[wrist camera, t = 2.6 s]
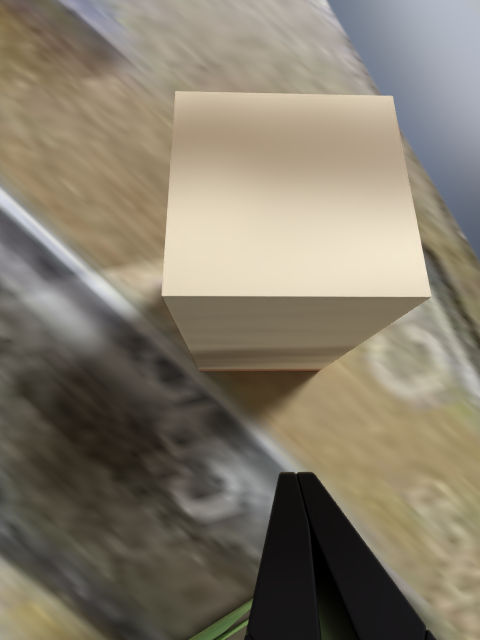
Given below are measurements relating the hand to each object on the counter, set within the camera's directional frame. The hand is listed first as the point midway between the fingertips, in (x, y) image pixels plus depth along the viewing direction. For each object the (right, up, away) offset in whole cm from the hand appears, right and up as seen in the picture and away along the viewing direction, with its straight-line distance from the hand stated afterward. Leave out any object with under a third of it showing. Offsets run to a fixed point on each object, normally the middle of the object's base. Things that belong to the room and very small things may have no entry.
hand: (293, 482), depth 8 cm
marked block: (0, +4, +10) cm, 11 cm away
